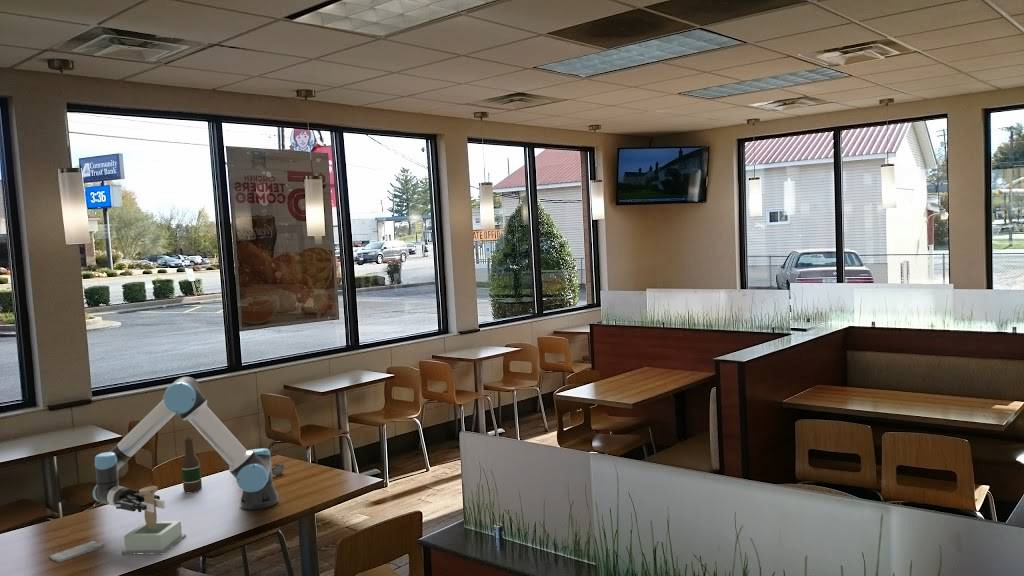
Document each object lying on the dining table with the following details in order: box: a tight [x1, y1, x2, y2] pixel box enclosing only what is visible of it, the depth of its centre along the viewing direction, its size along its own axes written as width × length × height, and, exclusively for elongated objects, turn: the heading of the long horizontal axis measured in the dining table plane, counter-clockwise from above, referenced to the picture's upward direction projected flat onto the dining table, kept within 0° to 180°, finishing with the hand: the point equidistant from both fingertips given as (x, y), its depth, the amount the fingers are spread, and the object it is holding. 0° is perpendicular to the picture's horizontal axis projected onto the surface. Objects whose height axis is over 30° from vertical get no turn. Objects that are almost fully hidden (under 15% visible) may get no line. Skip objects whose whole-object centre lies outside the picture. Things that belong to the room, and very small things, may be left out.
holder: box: [120, 520, 187, 555], centre depth 297 cm, size 16×16×6 cm
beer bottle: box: [181, 436, 203, 493], centre depth 360 cm, size 8×8×24 cm
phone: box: [49, 540, 104, 563], centre depth 295 cm, size 8×16×1 cm, turn 144°
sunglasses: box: [271, 463, 285, 477], centre depth 379 cm, size 16×17×5 cm
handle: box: [138, 485, 159, 530], centre depth 296 cm, size 5×6×15 cm
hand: (158, 506), depth 293 cm, fingers closed on handle, 4 cm apart
